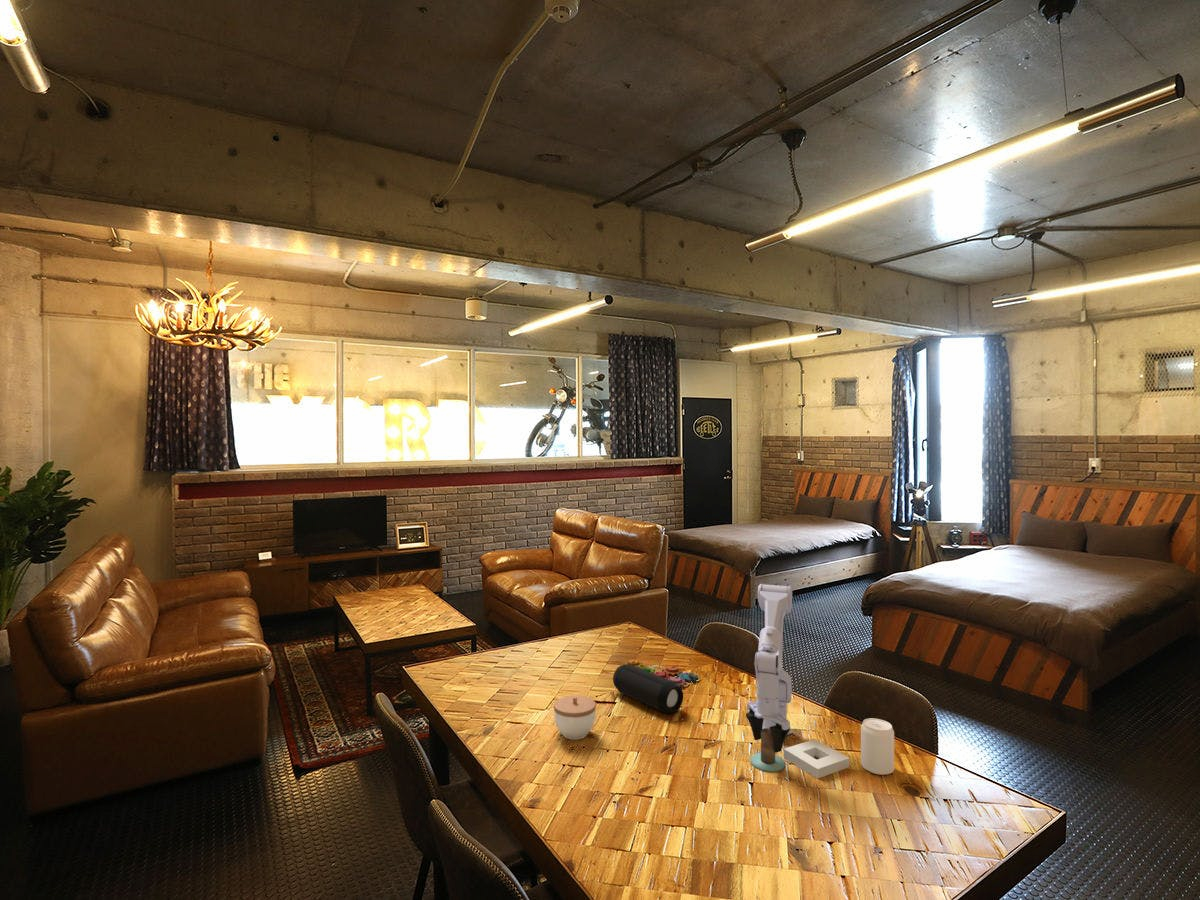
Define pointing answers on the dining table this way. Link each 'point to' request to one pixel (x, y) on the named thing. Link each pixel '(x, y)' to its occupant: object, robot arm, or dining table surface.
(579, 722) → the lidded bowl
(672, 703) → the portable speaker
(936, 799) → the dining table surface
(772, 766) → the teal pad
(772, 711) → the robot arm
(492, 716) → the dining table surface
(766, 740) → the walnut dowel
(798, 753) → the block
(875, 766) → the beverage can
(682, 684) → the gear puzzle
